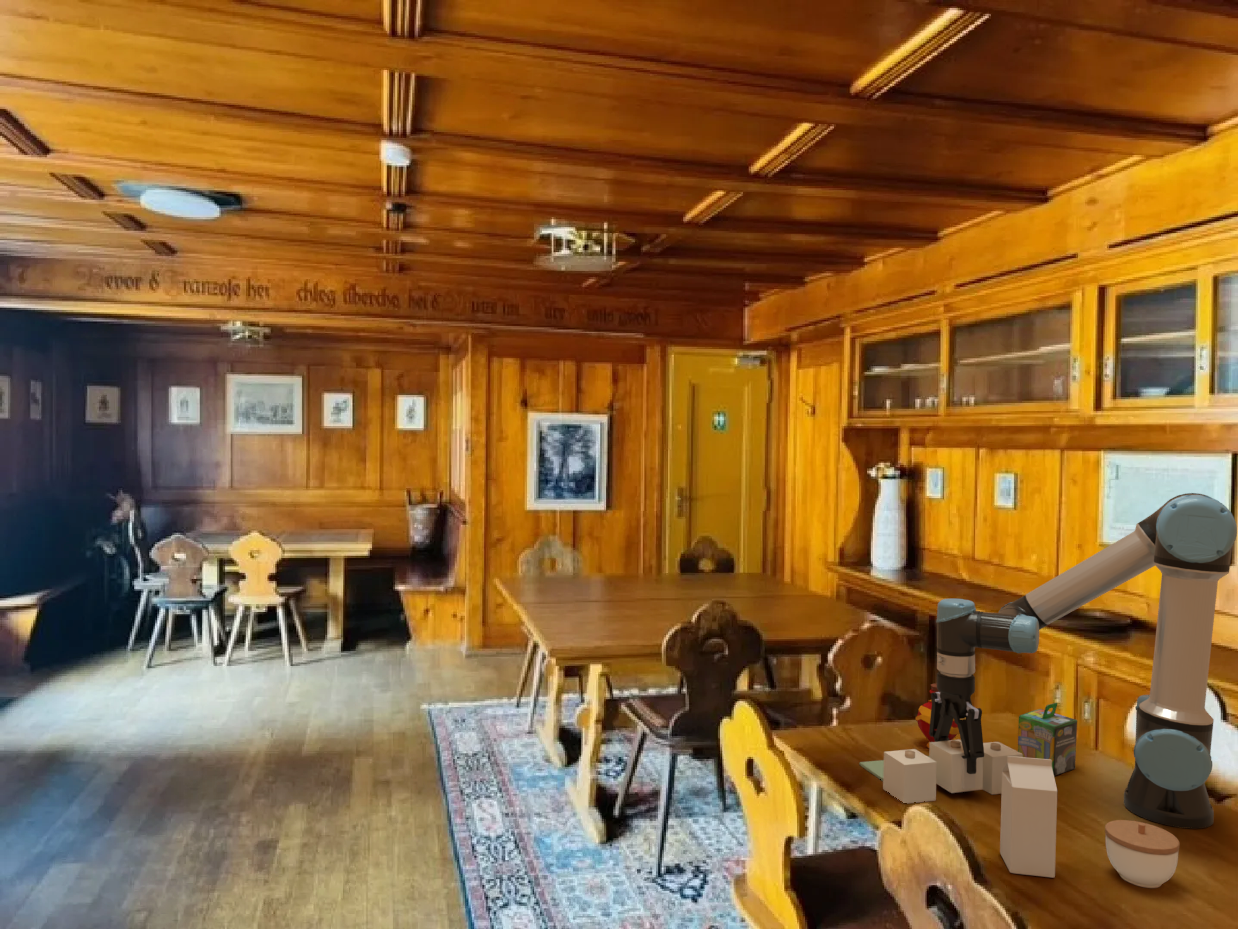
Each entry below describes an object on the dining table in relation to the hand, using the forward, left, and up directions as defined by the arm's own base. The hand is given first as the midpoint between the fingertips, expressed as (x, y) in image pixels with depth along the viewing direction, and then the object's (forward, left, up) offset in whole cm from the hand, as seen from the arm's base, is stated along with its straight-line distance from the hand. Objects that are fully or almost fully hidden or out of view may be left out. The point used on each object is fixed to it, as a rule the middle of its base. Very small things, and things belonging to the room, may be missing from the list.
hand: (955, 780), depth 177 cm
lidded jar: (-39, -8, -3) cm, 39 cm away
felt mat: (+11, 0, -2) cm, 12 cm away
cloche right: (0, -10, -2) cm, 10 cm away
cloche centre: (0, 0, -1) cm, 1 cm away
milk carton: (-31, +8, -2) cm, 32 cm away
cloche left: (0, +11, -2) cm, 11 cm away
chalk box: (+7, -30, -3) cm, 31 cm away
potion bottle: (+23, -13, -2) cm, 27 cm away
